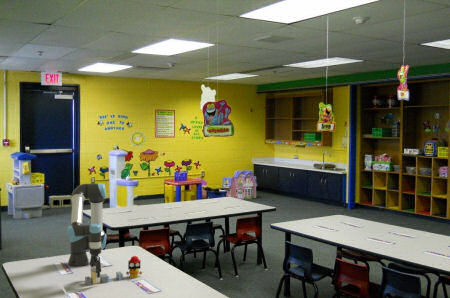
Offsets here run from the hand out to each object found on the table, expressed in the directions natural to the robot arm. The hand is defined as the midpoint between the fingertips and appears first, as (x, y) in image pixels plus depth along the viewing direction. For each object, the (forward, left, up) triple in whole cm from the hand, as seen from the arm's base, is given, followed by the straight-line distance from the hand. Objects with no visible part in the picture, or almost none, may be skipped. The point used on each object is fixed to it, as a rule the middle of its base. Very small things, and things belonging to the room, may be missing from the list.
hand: (95, 279), depth 302 cm
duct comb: (0, +6, -4) cm, 7 cm away
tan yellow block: (0, 0, -2) cm, 2 cm away
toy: (-2, +28, -4) cm, 28 cm away
